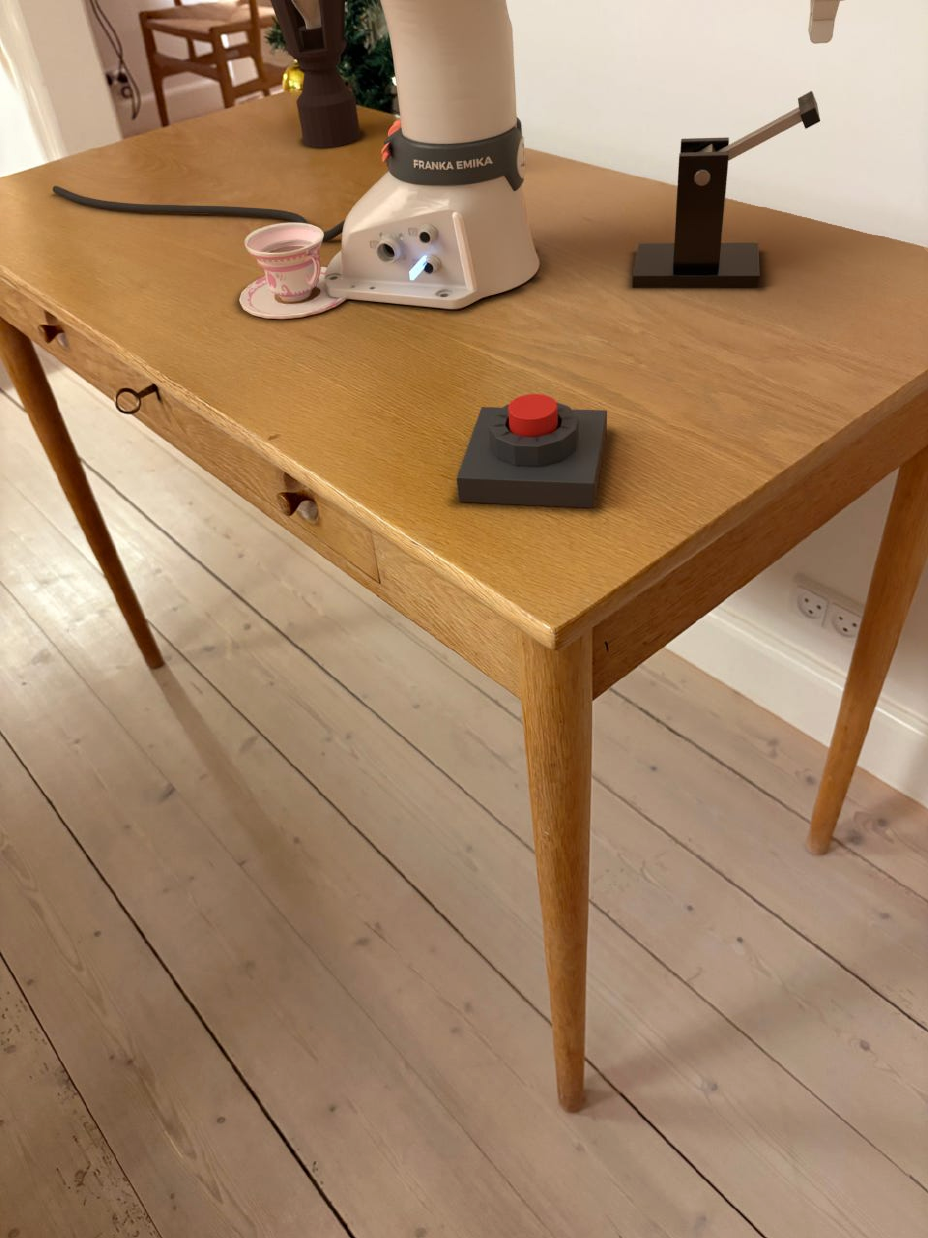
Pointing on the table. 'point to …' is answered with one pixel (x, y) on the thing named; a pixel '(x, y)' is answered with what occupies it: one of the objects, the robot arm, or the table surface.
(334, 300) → the teacup
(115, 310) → the table surface
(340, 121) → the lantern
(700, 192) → the bracket
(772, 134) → the lever
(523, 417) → the button
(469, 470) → the button box
